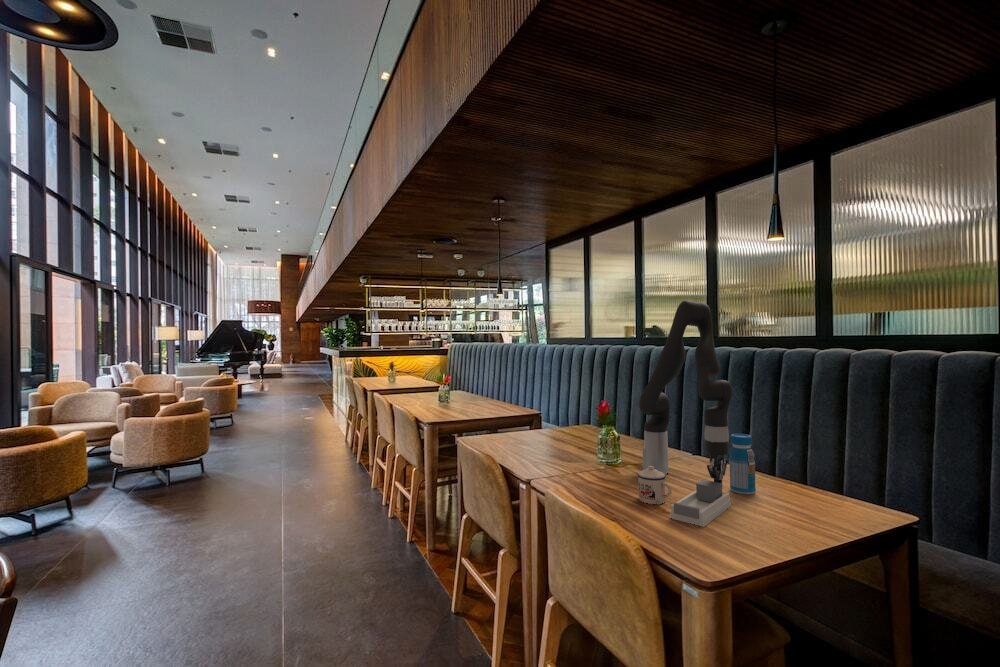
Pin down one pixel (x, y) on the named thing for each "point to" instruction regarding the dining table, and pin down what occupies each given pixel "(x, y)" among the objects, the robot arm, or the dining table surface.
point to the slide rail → (698, 509)
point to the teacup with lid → (652, 486)
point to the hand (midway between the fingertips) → (718, 489)
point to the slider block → (708, 490)
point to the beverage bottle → (742, 464)
